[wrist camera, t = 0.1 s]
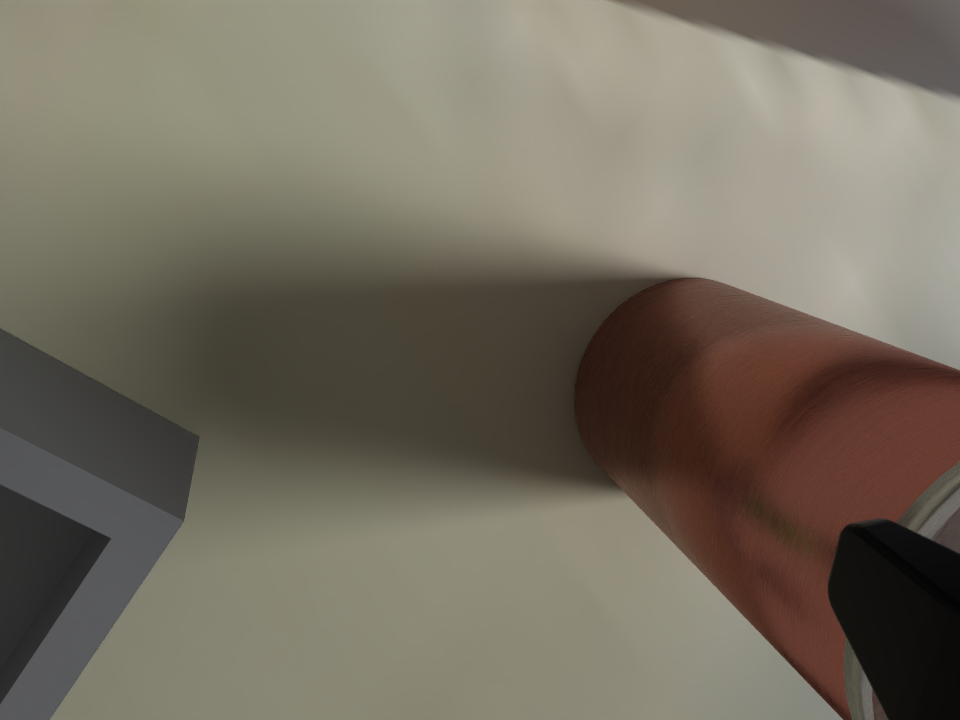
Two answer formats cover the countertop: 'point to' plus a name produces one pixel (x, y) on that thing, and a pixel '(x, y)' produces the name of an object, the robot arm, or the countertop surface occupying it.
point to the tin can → (771, 452)
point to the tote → (75, 518)
